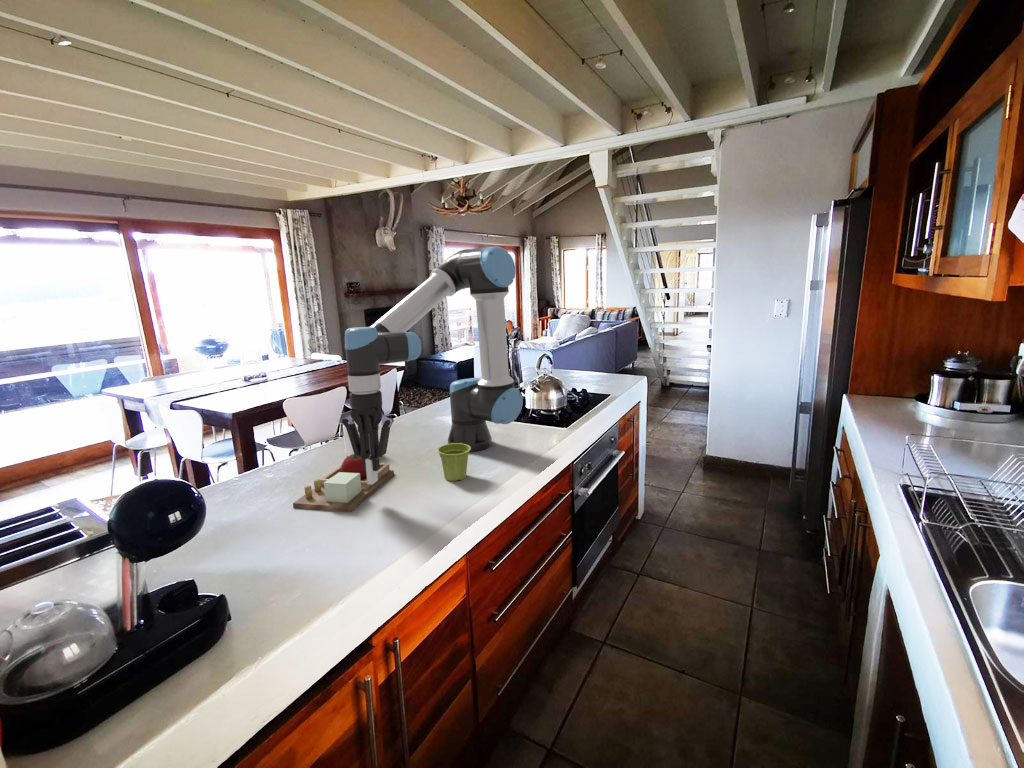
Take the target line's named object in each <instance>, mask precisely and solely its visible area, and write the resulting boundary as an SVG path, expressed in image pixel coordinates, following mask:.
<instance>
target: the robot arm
mask: <svg viewBox="0 0 1024 768" xmlns="http://www.w3.org/2000/svg"><path fill="white" fill-rule="evenodd" d="M514 261H515V260H514V259H513V256H512V255H511V254H510V253H509V251H508V250H506V248H503V247H501V246H484V247H477V248H476V247H475V248H467V249H461V250H459V251H457V252H455V253H453V254H452V255H450V256H448V257H447V258H446V259H445V260H443V261H442V262H441V263H439V265H437V266H436V267H435V268H433V269H432V270H431V271H430V274H429V275H430V276H428V278H427V279H426V280H425V281H423V282H422V283H421V284H420V285H418V286H417V287H416V288H415V289H414V290H412V291H411V292H410V293H409V294H408V295H406V296H405V297H404V298H402V300H400V301H399V302H398V303H396V305H395V306H393V307H391V309H390V310H388V311H387V312H386V313H384V315H382V316H381V317H380V318H379V319H377V320H376V321H375V322H374V323H372V325H370V326H361V327H360V326H359V327H349V328H347V329H346V330H345V332H344V350H345V359H346V368H347V369H346V370H347V382H348V383H347V384H348V385H347V386H348V391H349V392H350V393H349V405H350V408H351V409H350V413H349V415H348V416H347V417H345V418H343V419H342V420H341V422H342V424H343V425H344V426H345V427H346V429H347V432H348V435H349V438H350V442H351V445H352V448H353V451H354V454H355V456H360V457H361V458H362V460H363V469H364V470H366V473H367V484H372V485H373V484H374V483H375V482H377V481H378V475H377V470H379V468H380V464H379V463H380V458H381V457H383V456H384V455H386V453H387V451H388V443H389V438H390V437H389V436H390V432H391V427H392V425H393V423H394V422H395V420H394V418H392V417H390V418H389V417H387V416H386V415H385V412H384V410H383V395H382V391H381V389H382V383H381V369H380V367H381V366H380V365H387V364H395V363H403V362H405V363H408V362H409V361H414V360H416V359H418V358H419V357H420V355H421V353H422V341H421V339H420V337H419V336H418V334H416V333H415V332H413V331H409V330H410V329H411V328H412V327H413V326H415V325H416V324H417V322H419V321H420V320H421V319H422V318H424V316H426V315H427V314H428V313H430V311H432V309H434V308H435V307H436V306H437V305H438V304H439V303H440V302H442V301H443V300H444V299H445V298H446V297H452V296H454V295H455V294H456V293H457V292H459V291H461V290H465V289H469V294H470V296H471V297H472V298H473V299H474V300H475V304H476V305H475V307H476V319H477V331H478V332H477V333H478V334H477V335H478V346H479V359H480V361H479V362H480V373H481V377H469V378H463V379H457V380H455V381H452V382H451V383H450V386H449V401H450V402H449V403H450V416H451V426H450V429H449V430H450V431H449V434H448V438H447V444H452V443H462V444H466V445H469V446H470V447H471V450H470V451H469V453H471V452H478V451H483V450H487V449H488V448H490V447H491V446H492V444H493V441H492V440H493V439H492V435H491V433H490V430H489V429H490V428H489V427H488V425H487V422H490V423H494V424H496V425H499V424H501V425H508V424H511V423H513V422H515V420H516V419H517V418H519V414H520V413H521V411H522V408H523V402H524V399H523V395H522V393H521V392H520V390H519V389H518V388H515V380H514V378H512V376H510V372H509V358H508V357H509V355H508V341H507V327H506V325H507V324H506V309H505V307H506V306H505V298H506V297H507V295H508V294H509V286H510V285H512V284H513V283H514V279H515V278H516V272H517V271H516V265H515V262H514ZM354 422H355V423H356V424H357V425H358V431H357V428H356V425H355V423H354ZM380 423H381V429H379V428H380V427H379V425H380ZM379 430H380V433H379ZM358 432H359V434H358ZM379 434H380V436H379ZM359 436H360V437H359ZM369 441H370V443H369Z"/></svg>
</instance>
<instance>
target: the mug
mask: <svg viewBox="0 0 1024 768" xmlns="http://www.w3.org/2000/svg"><path fill="white" fill-rule="evenodd" d="M354 423H355V422H354ZM355 425H356V428H357V431H358V425H357V424H356V423H355ZM342 430H343V433H342V434H343V442H344V451H345V455H346V457H348V456H350V455H352V454H354V451H353V448H352V445H351V442H350V438H349V435H348V432H347V429H346V427H345V426H344V424H343V425H342ZM358 434H359V432H358ZM359 437H360V436H359ZM369 443H370V441H369Z"/></svg>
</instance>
